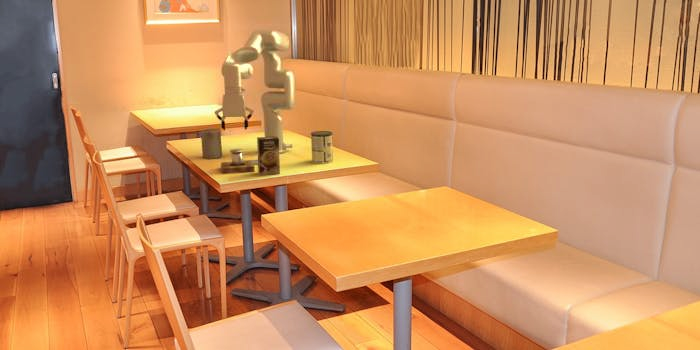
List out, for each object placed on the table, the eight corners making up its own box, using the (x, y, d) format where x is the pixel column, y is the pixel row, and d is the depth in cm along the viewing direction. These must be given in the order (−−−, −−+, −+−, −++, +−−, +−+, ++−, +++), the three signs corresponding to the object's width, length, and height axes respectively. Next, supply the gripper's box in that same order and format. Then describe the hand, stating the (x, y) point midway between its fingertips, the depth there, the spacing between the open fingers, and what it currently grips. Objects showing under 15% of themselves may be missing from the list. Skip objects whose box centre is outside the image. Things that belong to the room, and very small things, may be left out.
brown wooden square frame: (251, 165, 300) (251, 160, 300) (254, 171, 287) (254, 166, 287) (221, 167, 297) (220, 162, 297) (223, 173, 284) (222, 168, 283)
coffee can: (315, 158, 314) (314, 130, 311) (335, 159, 311) (335, 131, 308) (308, 163, 304) (307, 133, 301) (329, 164, 301) (328, 134, 298)
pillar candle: (212, 154, 328) (209, 125, 324) (226, 156, 323) (224, 127, 319) (198, 158, 320) (196, 128, 316) (213, 160, 315) (210, 130, 311)
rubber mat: (259, 160, 312) (259, 159, 312) (261, 164, 303) (261, 163, 303) (238, 161, 310) (238, 160, 310) (240, 165, 300) (240, 164, 300)
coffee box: (259, 175, 280) (258, 139, 276) (258, 172, 286) (256, 137, 282) (280, 174, 282) (279, 138, 278) (278, 171, 288) (276, 135, 285)
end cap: (243, 167, 296) (242, 148, 294) (244, 170, 290) (243, 151, 288) (230, 168, 294) (229, 149, 292) (231, 171, 289) (230, 151, 287)
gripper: (251, 90, 290) (253, 127, 293) (213, 91, 285) (215, 129, 289) (253, 91, 283) (255, 129, 286) (213, 92, 278) (215, 131, 282)
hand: (234, 129), depth 288 cm, fingers open, 9 cm apart
